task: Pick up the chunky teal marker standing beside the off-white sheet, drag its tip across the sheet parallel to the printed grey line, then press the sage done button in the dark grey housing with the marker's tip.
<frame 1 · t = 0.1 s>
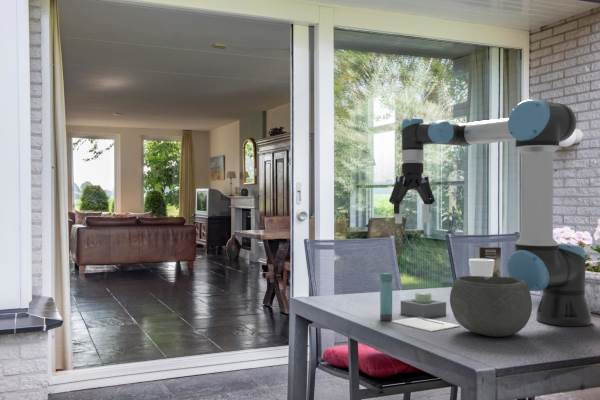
hand: (412, 223, 214), 28 cm above the table, fingers open, 13 cm apart
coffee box: (487, 284, 259), on the table
done button: (423, 301, 193), point 4 cm above the table, slide at 0.0 cm
marker: (386, 320, 184), on the table
foam cup: (481, 293, 235), on the table
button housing: (423, 314, 193), on the table
paper: (424, 324, 178), on the table
bowl: (489, 335, 165), on the table
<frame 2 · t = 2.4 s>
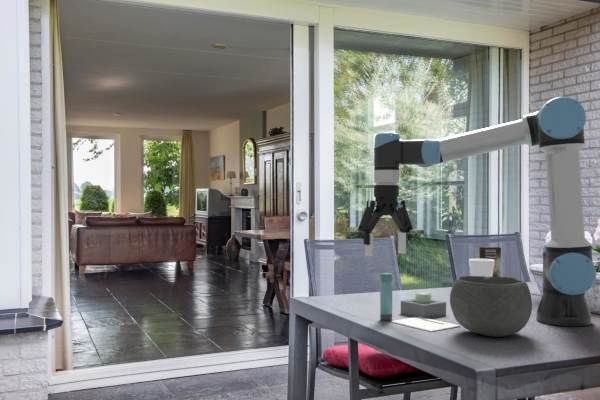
hand: (385, 254, 184), 20 cm above the table, fingers open, 13 cm apart
nothing on the table moved.
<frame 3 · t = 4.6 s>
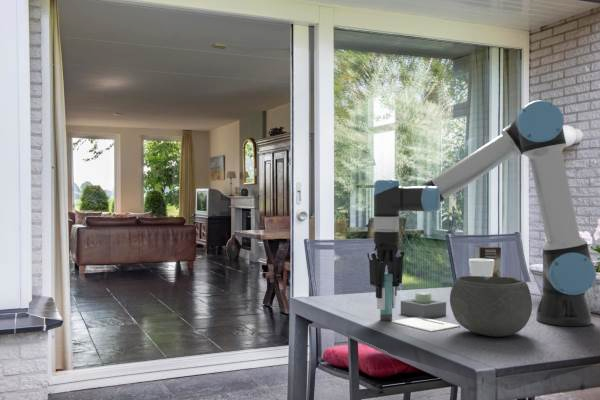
hand: (386, 308, 184), 4 cm above the table, fingers closed on marker, 3 cm apart
marker: (386, 320, 184), on the table, touching gripper
everything else where it was.
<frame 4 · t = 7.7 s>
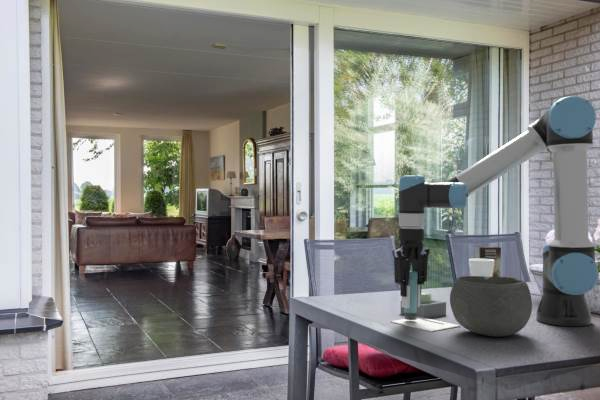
hand: (410, 306, 180), 5 cm above the table, fingers closed on marker, 3 cm apart
marker: (410, 318, 180), point 1 cm above the table, touching gripper
everything else where it was.
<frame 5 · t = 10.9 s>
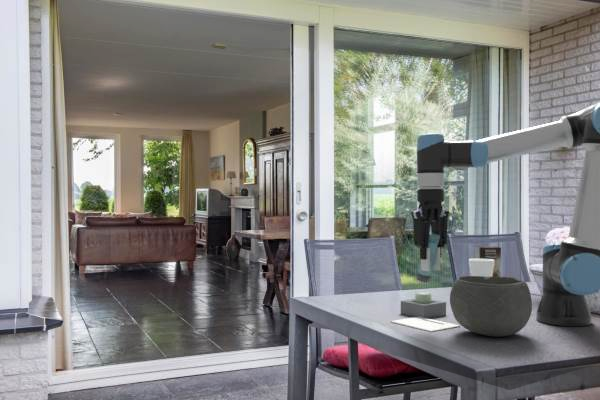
hand: (430, 270, 174), 16 cm above the table, fingers closed on marker, 3 cm apart
marker: (422, 279, 177), point 13 cm above the table, tilted 17°, touching gripper
everything else where it was.
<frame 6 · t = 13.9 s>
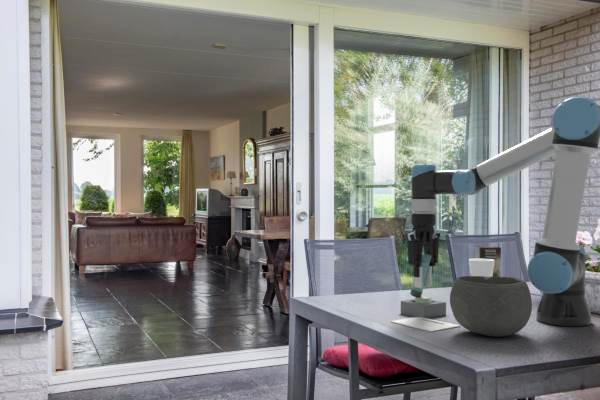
hand: (423, 286, 193), 9 cm above the table, fingers closed on marker, 3 cm apart
done button: (423, 305, 193), point 3 cm above the table, slide at 1.4 cm, touching marker
marker: (415, 295, 196), point 6 cm above the table, tilted 17°, touching done button, gripper
everything else where it was.
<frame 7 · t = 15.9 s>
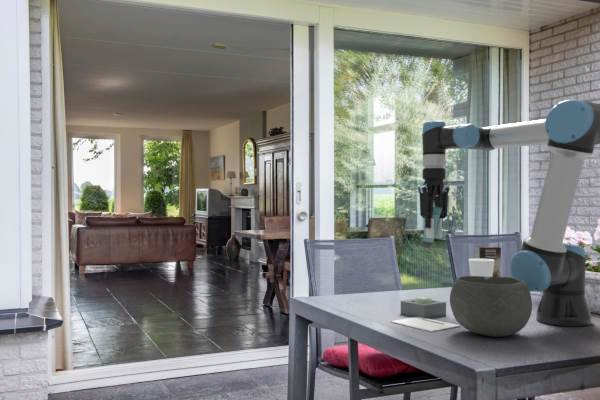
hand: (433, 237, 204), 24 cm above the table, fingers closed on marker, 3 cm apart
done button: (423, 306, 193), point 3 cm above the table, slide at 1.5 cm
marker: (426, 246, 206), point 20 cm above the table, tilted 17°, touching gripper
everything else where it was.
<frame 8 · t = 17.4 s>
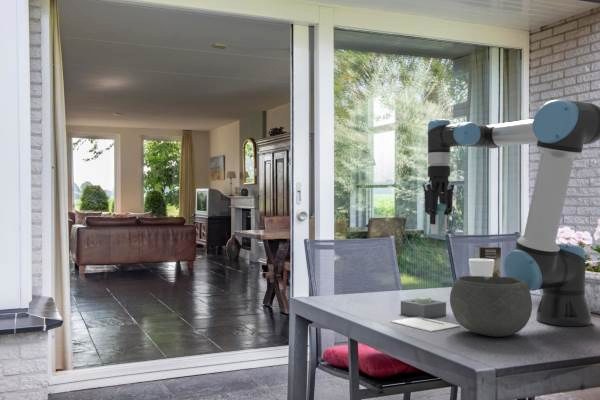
hand: (438, 233, 209), 25 cm above the table, fingers closed on marker, 3 cm apart
marker: (431, 242, 212), point 22 cm above the table, tilted 17°, touching gripper
everything else where it was.
at the end: done button slide at 1.5 cm; the gripper is holding marker; marker moved 40.1 cm from its start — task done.
